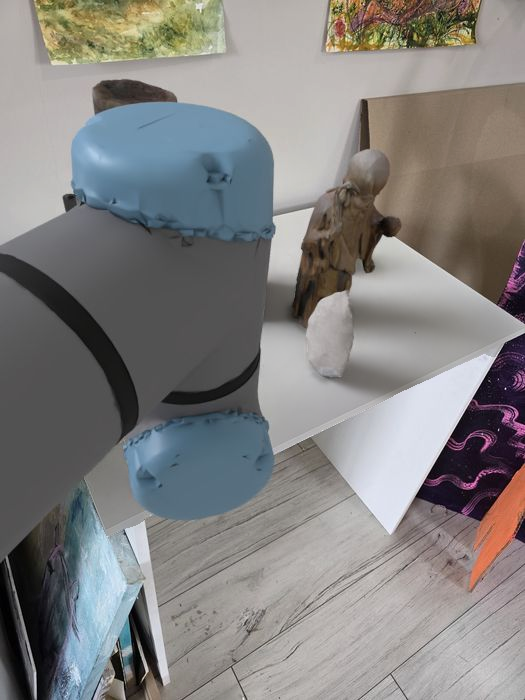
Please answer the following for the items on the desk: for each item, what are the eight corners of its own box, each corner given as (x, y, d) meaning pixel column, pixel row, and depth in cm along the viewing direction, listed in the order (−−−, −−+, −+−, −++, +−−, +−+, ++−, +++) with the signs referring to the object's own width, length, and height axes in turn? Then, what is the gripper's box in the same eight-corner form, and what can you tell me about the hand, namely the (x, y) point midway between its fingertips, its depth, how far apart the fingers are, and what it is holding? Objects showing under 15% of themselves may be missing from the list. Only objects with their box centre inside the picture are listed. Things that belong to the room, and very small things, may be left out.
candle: (151, 258, 59) (131, 71, 45) (200, 279, 56) (196, 88, 42) (104, 288, 54) (67, 89, 40) (156, 313, 51) (135, 110, 37)
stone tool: (294, 358, 78) (306, 280, 68) (308, 349, 80) (322, 272, 69) (336, 392, 73) (357, 314, 63) (350, 383, 75) (373, 305, 65)
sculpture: (295, 341, 81) (323, 161, 60) (275, 301, 88) (294, 129, 68) (379, 328, 85) (432, 155, 64) (353, 291, 92) (394, 126, 72)
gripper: (31, 360, 35) (45, 208, 51) (295, 327, 40) (233, 197, 56) (-1, 273, 30) (26, 134, 46) (308, 246, 35) (235, 129, 51)
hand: (140, 169), depth 51 cm, fingers closed on candle, 7 cm apart
